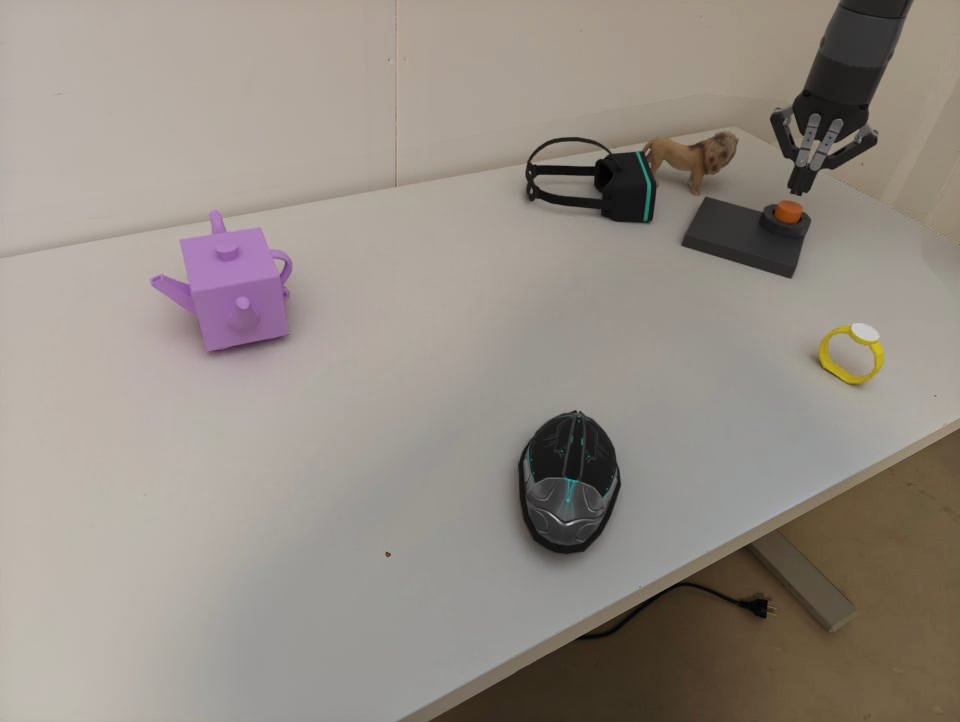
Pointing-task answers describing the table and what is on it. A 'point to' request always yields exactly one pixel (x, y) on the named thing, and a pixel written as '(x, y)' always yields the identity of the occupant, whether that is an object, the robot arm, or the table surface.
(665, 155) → the lion figurine
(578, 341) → the table surface
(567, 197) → the virtual reality headset
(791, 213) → the button
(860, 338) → the watch
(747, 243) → the button base plate
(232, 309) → the teapot
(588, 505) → the computer mouse
